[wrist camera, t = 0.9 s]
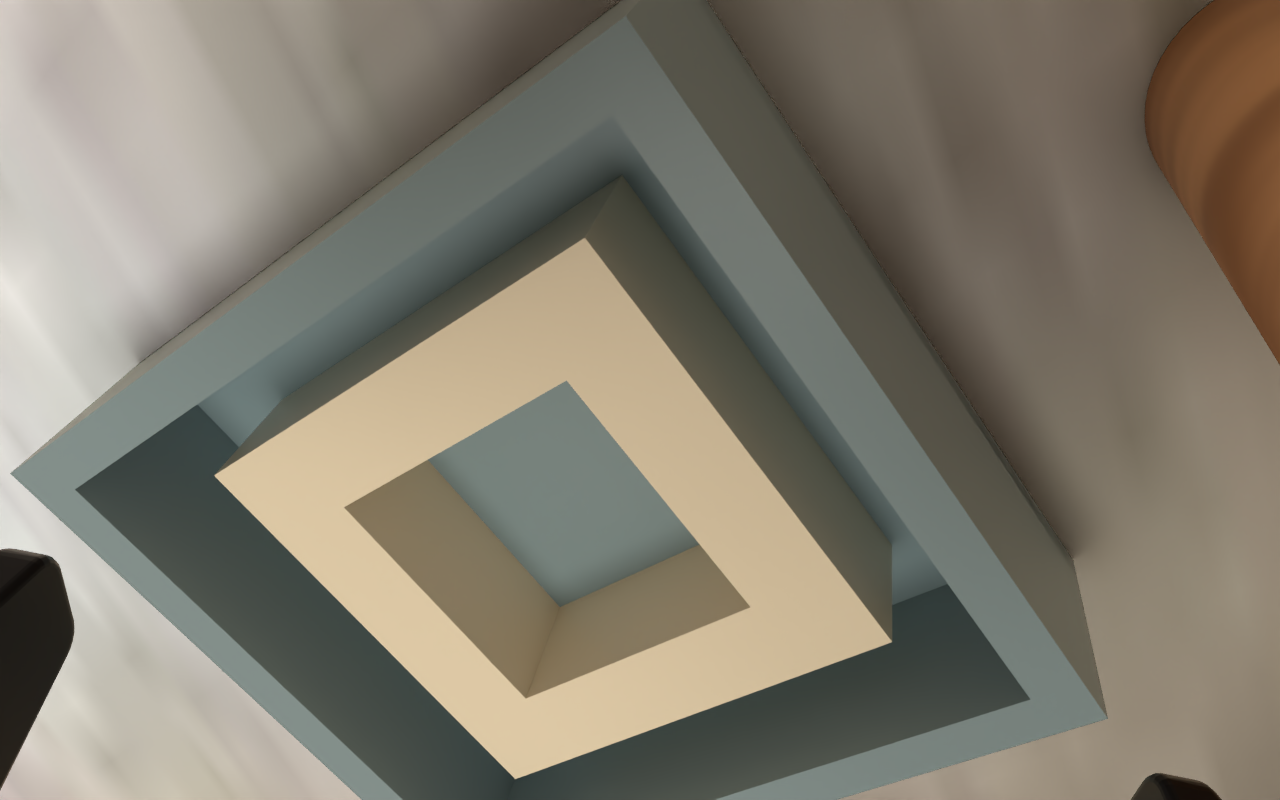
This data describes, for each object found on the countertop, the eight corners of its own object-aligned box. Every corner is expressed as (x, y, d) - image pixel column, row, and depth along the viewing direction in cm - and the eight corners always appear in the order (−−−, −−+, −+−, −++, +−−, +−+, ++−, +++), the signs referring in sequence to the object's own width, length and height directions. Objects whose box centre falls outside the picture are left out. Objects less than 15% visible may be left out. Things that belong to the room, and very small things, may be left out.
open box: (1073, 560, 24) (1107, 718, 20) (527, 762, 31) (477, 906, 27) (678, -43, 19) (625, 16, 15) (137, 364, 26) (10, 473, 22)
